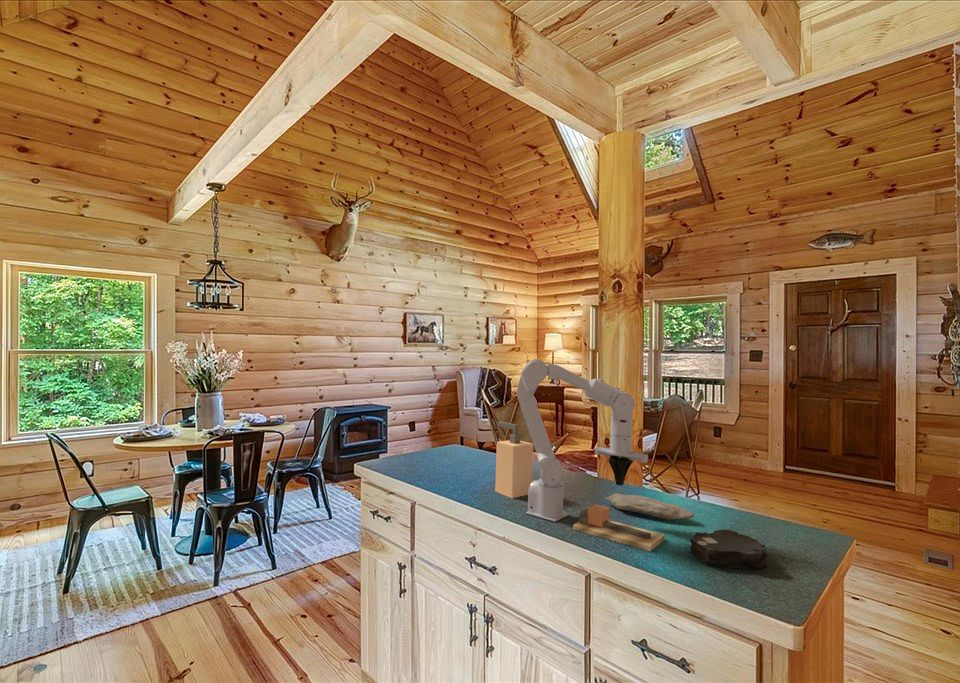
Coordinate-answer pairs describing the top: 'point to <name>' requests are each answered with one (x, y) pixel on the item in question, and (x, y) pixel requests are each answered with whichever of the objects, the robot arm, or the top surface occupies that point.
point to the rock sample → (728, 550)
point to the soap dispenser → (513, 464)
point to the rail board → (620, 533)
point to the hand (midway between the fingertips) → (619, 484)
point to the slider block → (598, 515)
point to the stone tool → (648, 506)
